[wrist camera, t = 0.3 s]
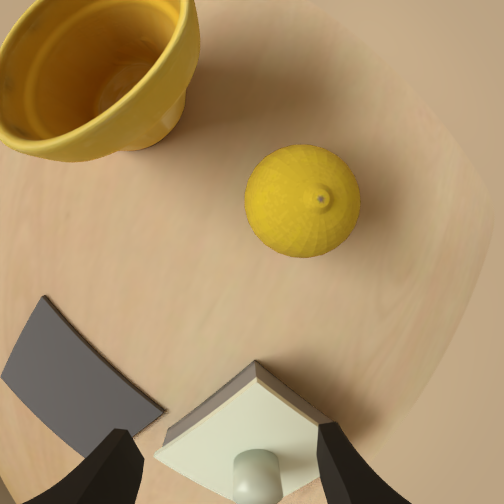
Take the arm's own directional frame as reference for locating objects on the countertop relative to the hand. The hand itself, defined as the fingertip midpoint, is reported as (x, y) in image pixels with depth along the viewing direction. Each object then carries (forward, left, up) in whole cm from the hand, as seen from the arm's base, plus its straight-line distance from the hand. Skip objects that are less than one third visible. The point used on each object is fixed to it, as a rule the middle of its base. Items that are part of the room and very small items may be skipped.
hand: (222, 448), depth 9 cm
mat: (-15, +6, -11) cm, 19 cm away
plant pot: (+7, +16, -11) cm, 20 cm away
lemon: (+9, +4, -11) cm, 14 cm away
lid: (-5, -7, -8) cm, 12 cm away
